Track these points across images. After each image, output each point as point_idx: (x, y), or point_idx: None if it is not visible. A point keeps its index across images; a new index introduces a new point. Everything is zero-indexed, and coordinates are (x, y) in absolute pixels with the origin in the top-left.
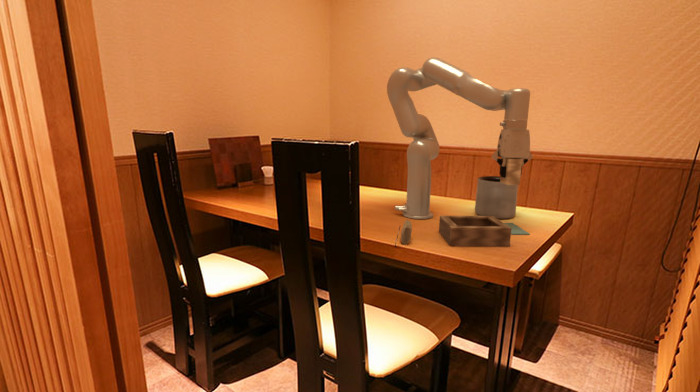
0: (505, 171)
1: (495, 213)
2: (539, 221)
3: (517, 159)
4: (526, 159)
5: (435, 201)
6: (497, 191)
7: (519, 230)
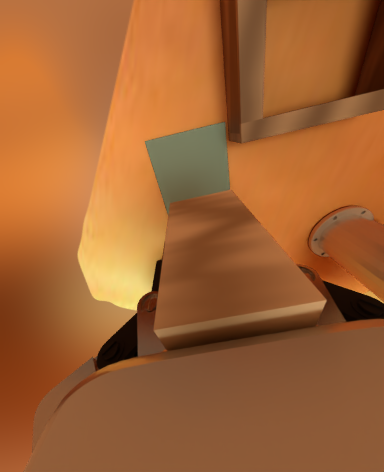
0: None
1: None
2: (119, 247)
3: (213, 317)
4: (107, 363)
5: None
6: None
7: (165, 165)
